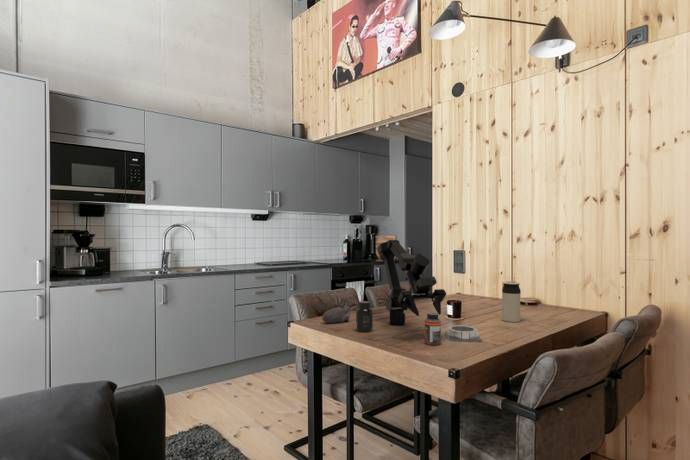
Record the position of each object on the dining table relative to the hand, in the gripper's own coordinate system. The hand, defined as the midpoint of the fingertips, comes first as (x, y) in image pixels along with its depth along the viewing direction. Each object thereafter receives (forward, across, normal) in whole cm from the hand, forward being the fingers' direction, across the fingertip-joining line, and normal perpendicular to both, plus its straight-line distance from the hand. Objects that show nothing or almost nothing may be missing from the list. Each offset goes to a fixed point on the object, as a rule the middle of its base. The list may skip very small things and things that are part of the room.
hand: (429, 314), depth 156 cm
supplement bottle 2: (+9, 0, +6) cm, 11 cm away
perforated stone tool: (-21, -25, +36) cm, 49 cm away
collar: (+6, +16, +9) cm, 19 cm away
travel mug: (-9, +55, +23) cm, 60 cm away
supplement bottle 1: (-9, -18, +23) cm, 31 cm away
